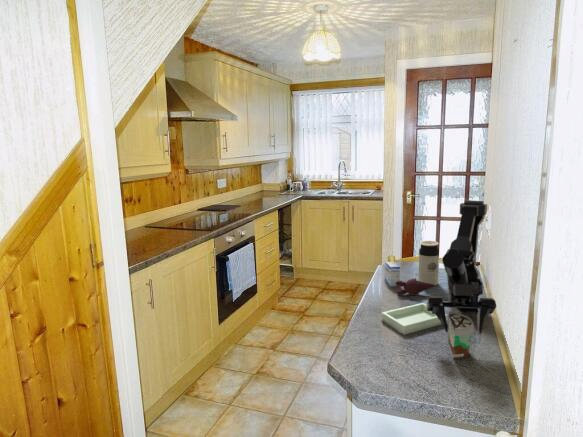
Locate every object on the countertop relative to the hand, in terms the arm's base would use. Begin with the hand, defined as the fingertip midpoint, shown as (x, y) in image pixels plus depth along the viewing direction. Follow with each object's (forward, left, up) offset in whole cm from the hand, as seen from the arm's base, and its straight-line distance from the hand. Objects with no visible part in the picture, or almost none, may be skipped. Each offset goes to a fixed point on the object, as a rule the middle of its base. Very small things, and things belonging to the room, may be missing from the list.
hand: (463, 332), depth 121 cm
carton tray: (+12, -20, -7) cm, 25 cm away
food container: (0, -1, -7) cm, 7 cm away
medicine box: (+18, -58, -7) cm, 61 cm away
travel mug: (+3, -59, -7) cm, 60 cm away
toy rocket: (+10, -46, -7) cm, 48 cm away
